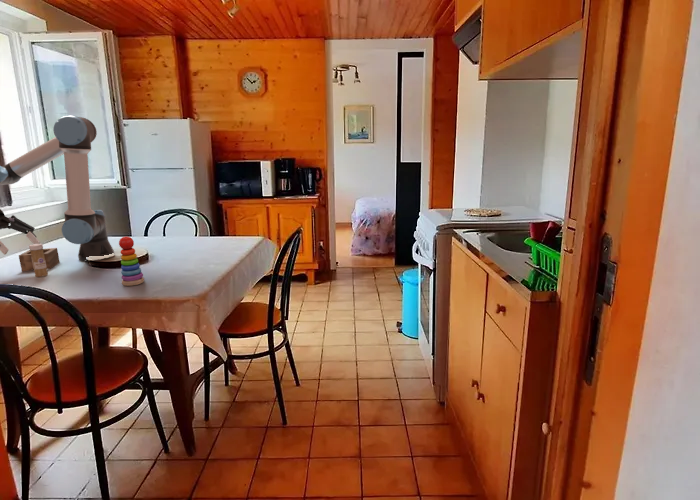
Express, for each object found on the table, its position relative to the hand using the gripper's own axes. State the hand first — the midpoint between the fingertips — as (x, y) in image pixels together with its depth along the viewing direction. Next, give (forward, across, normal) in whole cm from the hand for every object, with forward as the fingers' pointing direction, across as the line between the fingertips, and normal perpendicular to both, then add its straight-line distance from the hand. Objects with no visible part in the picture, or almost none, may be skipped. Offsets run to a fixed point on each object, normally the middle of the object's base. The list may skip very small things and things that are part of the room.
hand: (23, 248), depth 182 cm
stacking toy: (+45, -1, +29) cm, 54 cm away
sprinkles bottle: (+13, -1, -4) cm, 13 cm away
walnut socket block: (+3, -12, -13) cm, 18 cm away
